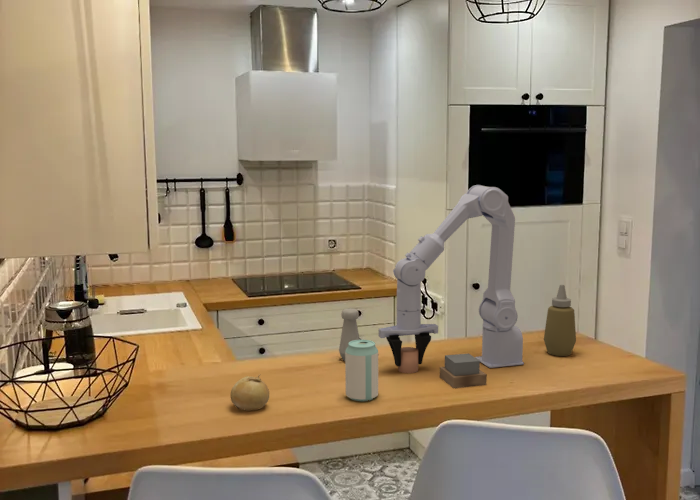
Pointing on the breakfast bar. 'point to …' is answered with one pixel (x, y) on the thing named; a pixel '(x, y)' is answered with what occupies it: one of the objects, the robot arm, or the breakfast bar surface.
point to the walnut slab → (463, 379)
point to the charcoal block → (462, 364)
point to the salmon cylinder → (409, 360)
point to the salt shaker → (348, 329)
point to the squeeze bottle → (560, 325)
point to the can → (361, 370)
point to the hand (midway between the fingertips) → (408, 364)
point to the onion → (250, 393)
